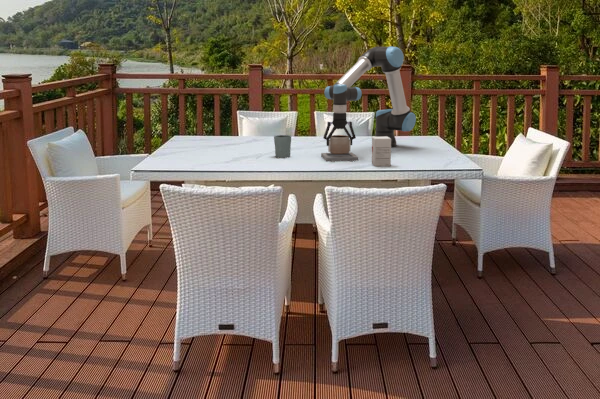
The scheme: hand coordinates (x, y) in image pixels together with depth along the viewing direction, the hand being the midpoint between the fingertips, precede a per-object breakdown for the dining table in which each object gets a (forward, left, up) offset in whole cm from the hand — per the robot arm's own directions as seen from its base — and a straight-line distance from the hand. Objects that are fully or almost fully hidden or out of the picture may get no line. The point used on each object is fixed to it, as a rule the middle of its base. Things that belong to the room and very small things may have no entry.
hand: (339, 151), depth 409 cm
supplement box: (-18, +25, -4) cm, 31 cm away
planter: (0, 0, -1) cm, 1 cm away
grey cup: (+31, -12, -4) cm, 33 cm away
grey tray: (0, +1, -4) cm, 4 cm away
